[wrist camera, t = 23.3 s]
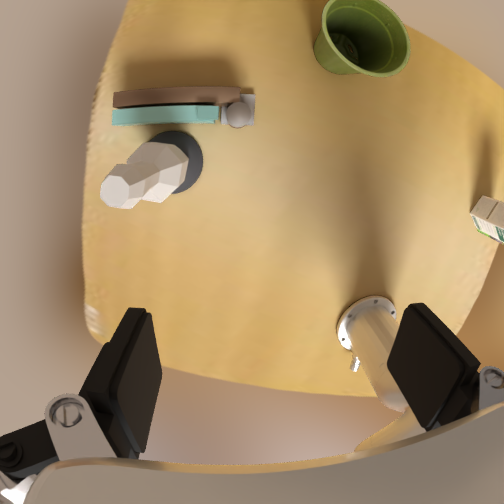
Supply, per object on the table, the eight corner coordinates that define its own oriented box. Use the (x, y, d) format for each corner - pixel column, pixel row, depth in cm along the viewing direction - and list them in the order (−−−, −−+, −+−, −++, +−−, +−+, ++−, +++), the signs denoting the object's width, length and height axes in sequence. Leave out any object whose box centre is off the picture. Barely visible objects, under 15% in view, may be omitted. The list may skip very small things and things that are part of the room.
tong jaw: (219, 123, 36) (217, 120, 31) (123, 126, 35) (108, 124, 30) (220, 109, 35) (218, 104, 30) (123, 112, 34) (109, 109, 29)
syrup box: (468, 213, 45) (519, 238, 32) (482, 193, 44) (533, 214, 30) (477, 231, 47) (524, 258, 34) (490, 212, 46) (538, 235, 32)
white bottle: (181, 193, 40) (135, 250, 20) (143, 173, 38) (65, 211, 18) (202, 154, 38) (174, 171, 18) (163, 133, 37) (96, 131, 16)
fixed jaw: (252, 128, 38) (256, 127, 32) (126, 130, 36) (110, 129, 31) (254, 95, 36) (259, 87, 30) (127, 97, 34) (112, 91, 29)
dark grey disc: (202, 193, 41) (202, 194, 40) (142, 193, 40) (141, 194, 39) (204, 130, 37) (203, 130, 37) (141, 132, 36) (141, 132, 36)
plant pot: (348, 104, 37) (385, 96, 27) (283, 56, 34) (301, 30, 24) (384, 55, 34) (424, 39, 24) (324, 8, 31) (351, -23, 20)
